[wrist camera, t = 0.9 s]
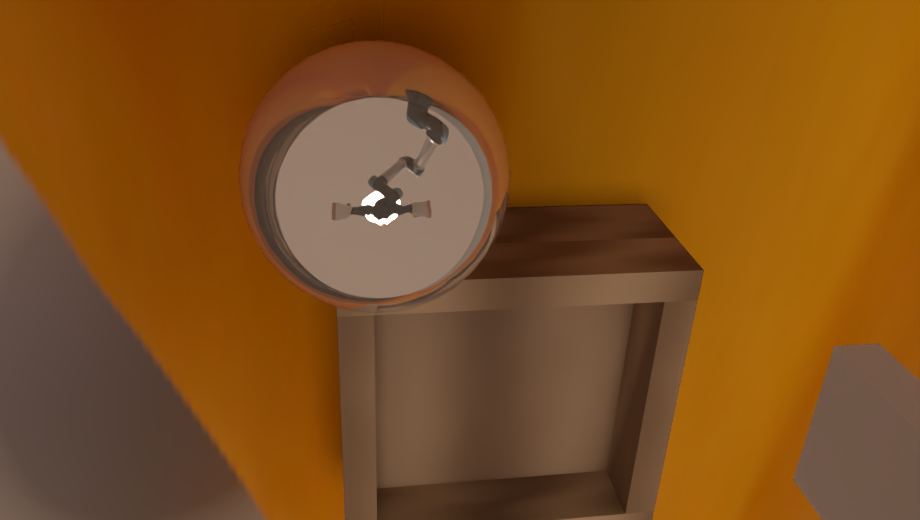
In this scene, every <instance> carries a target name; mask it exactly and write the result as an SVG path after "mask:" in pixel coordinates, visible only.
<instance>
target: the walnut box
mask: <svg viewBox="0 0 920 520" xmlns="http://www.w3.org/2000/svg"><path fill="white" fill-rule="evenodd" d="M703 271H704V270H703V269H702V268H701V267H700V265H699V264H698V263H697V262H696V261H695V259H694V258H693V257H692V256H691V255H690V254H689V252H688V251H687V250H686V249H685V248H684V247H683V245H682V244H681V243H680V242H679V241H678V240H677V238H676V237H675V236H674V235H673V234H672V233H671V231H670V230H669V229H668V228H667V227H666V226H665V224H664V223H663V222H662V221H661V220H660V219H659V217H658V216H657V215H656V214H655V213H654V212H653V210H652V209H651V208H650V207H649V206H648V205H647V204H634V205H597V206H559V207H522V208H507V209H506V212H505V216H504V220H503V223H502V227H501V230H500V232H499V234H498V236H497V238H496V240H495V242H494V244H493V246H492V248H491V250H490V251H489V252H488V254H487V255H486V256H485V258H484V259H483V260H482V262H481V263H480V264H479V265H478V267H477V268H476V269H475V270H474V271H473V272H472V273H471V274H470V275H468V276H467V277H466V278H465V279H464V280H463V281H462V282H461V283H460V284H458V285H457V286H456V287H455V288H453V289H452V290H450V291H449V292H447V293H445V294H444V295H442V296H441V297H439V298H437V299H435V300H433V301H431V302H428V303H426V304H423V305H421V306H418V307H415V308H411V309H406V310H402V311H398V312H388V313H365V312H356V311H349V310H346V309H342V308H339V307H337V330H338V355H339V379H340V404H341V429H342V453H343V478H344V503H345V520H652V517H653V512H654V508H655V503H656V498H657V493H658V488H659V483H660V479H661V474H662V469H663V464H664V459H665V455H666V450H667V445H668V440H669V435H670V430H671V426H672V421H673V416H674V411H675V406H676V401H677V397H678V392H679V387H680V382H681V377H682V373H683V368H684V363H685V358H686V353H687V348H688V344H689V339H690V334H691V329H692V324H693V319H694V315H695V310H696V305H697V300H698V295H699V291H700V286H701V281H702V276H703Z"/></svg>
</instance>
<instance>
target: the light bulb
mask: <svg viewBox="0 0 920 520" xmlns="http://www.w3.org/2000/svg"><path fill="white" fill-rule="evenodd" d="M510 177H511V171H510V164H509V158H508V151H507V146H506V143H505V139H504V136H503V134H502V131H501V128H500V126H499V123H498V120H497V118H496V115H495V114H494V112H493V110H492V109H491V107H490V106H489V104H488V103H487V101H486V99H485V98H484V96H483V95H482V93H481V92H480V91H479V90H478V89H477V88H476V87H475V86H474V85H473V84H472V83H471V82H470V81H469V80H468V79H467V78H466V77H465V76H464V75H463V74H462V73H461V72H460V71H458V70H457V69H456V68H454V67H453V66H451V65H450V64H448V63H447V62H445V61H444V60H442V59H441V58H439V57H438V56H436V55H434V54H431V53H429V52H426V51H424V50H422V49H419V48H417V47H414V46H411V45H406V44H401V43H396V42H391V41H355V42H350V43H345V44H340V45H336V46H332V47H329V48H327V49H324V50H322V51H320V52H317V53H315V54H313V55H310V56H308V57H306V58H305V59H304V60H302V61H301V62H299V63H298V64H296V65H295V66H293V67H292V68H291V69H289V70H288V71H286V72H285V73H284V74H283V75H282V76H281V77H280V78H279V80H278V81H277V82H276V83H275V84H274V85H273V86H272V87H271V88H270V89H269V90H268V91H267V93H266V95H265V96H264V98H263V99H262V101H261V103H260V104H259V106H258V108H257V109H256V111H255V113H254V114H253V116H252V118H251V119H250V122H249V124H248V127H247V130H246V133H245V136H244V139H243V142H242V146H241V155H240V164H239V186H240V195H241V204H242V208H243V211H244V214H245V217H246V220H247V223H248V226H249V229H250V231H251V233H252V234H253V236H254V238H255V240H256V241H257V243H258V245H259V246H260V248H261V250H262V251H263V253H264V255H265V257H266V258H267V260H268V261H269V262H270V263H271V264H272V265H273V266H274V267H275V269H276V270H277V271H278V272H279V273H280V274H281V275H282V276H283V277H284V278H285V279H286V280H288V281H289V282H290V283H292V284H293V285H294V286H296V287H297V288H298V289H300V290H301V291H303V292H305V293H307V294H309V295H311V296H313V297H315V298H317V299H319V300H321V301H323V302H325V303H327V304H329V305H332V306H336V307H339V308H342V309H346V310H349V311H356V312H365V313H388V312H398V311H402V310H406V309H411V308H415V307H418V306H421V305H423V304H426V303H428V302H431V301H433V300H435V299H437V298H439V297H441V296H442V295H444V294H445V293H447V292H449V291H450V290H452V289H453V288H455V287H456V286H457V285H458V284H460V283H461V282H462V281H463V280H464V279H465V278H466V277H467V276H468V275H470V274H471V273H472V272H473V271H474V270H475V269H476V268H477V267H478V265H479V264H480V263H481V262H482V260H483V259H484V258H485V256H486V255H487V254H488V252H489V251H490V250H491V248H492V246H493V244H494V242H495V240H496V238H497V236H498V234H499V232H500V230H501V227H502V223H503V220H504V216H505V212H506V209H507V205H508V200H509V193H510Z"/></svg>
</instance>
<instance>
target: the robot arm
mask: <svg viewBox="0 0 920 520" xmlns="http://www.w3.org/2000/svg"><path fill="white" fill-rule="evenodd" d="M793 480H794V481H795V483H796V484H797V486H798V487H799V488H800V490H801V491H802V492H803V494H804V495H805V497H806V498H807V499H808V501H809V502H810V503H811V505H812V506H813V508H814V509H815V510H816V512H817V513H818V514H819V516H820V517H821V519H822V520H920V381H919V380H918V379H917V378H916V377H915V376H914V375H913V374H912V373H911V372H909V371H908V370H907V369H906V368H905V367H904V366H903V365H902V364H901V363H900V362H899V361H898V360H896V359H895V358H894V357H893V356H892V355H891V354H890V353H889V352H888V351H887V350H886V349H884V348H883V347H882V346H881V345H880V344H864V345H847V346H834V349H833V353H832V356H831V359H830V362H829V366H828V369H827V372H826V375H825V379H824V382H823V385H822V388H821V392H820V395H819V398H818V401H817V404H816V408H815V411H814V414H813V417H812V421H811V424H810V427H809V430H808V434H807V437H806V440H805V443H804V447H803V450H802V453H801V456H800V460H799V463H798V466H797V469H796V473H795V476H794V479H793Z"/></svg>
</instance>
